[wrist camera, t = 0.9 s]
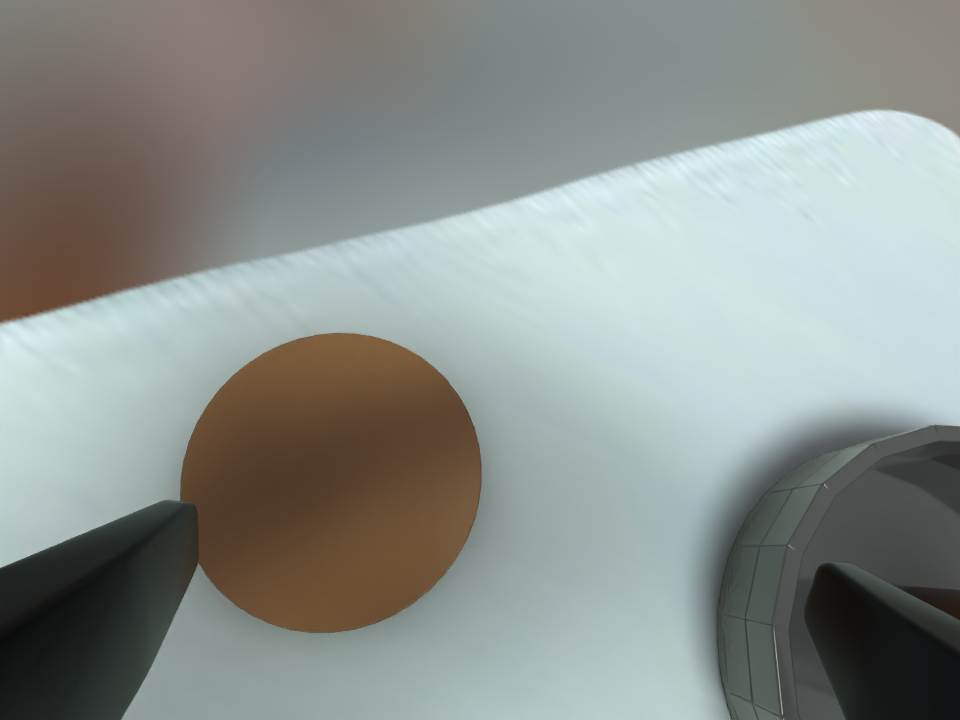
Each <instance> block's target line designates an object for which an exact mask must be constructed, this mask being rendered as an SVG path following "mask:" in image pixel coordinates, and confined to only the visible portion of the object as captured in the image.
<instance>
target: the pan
mask: <svg viewBox="0 0 960 720" xmlns="http://www.w3.org/2000/svg"><path fill="white" fill-rule="evenodd" d="M824 562H837V563H848V564H852V565H854V566H857V567H858V568H860V569H862V570H864V571H866V572H868V573H870V574H872V575H874V576H876V577H878V578H880V579H881V580H883V581H885V582H887V583H889V584H891V585H893V586H895V587H897V588H899V589H901V590H903V591H905V590H908V589H912V588H918V587H929V588H943V589H956V590H960V426H946V425H930V426H926V427H922V428H918V429H914V430H910V431H906V432H902V433H898V434H894V435H890V436H886V437H882V438H878V439H874V440H870V441H866V442H863V443H860V444H856V445H853V446H850V447H846V448H843V449H840V450H836V451H833V452H829V453H826V454H823V455H820V456H816V457H815V458H813V459H812V460H810V461H808V462H806V463H803V464H802V465H800V466H799V467H797V468H796V469H794V470H793V471H791V472H790V473H788V474H787V475H785V476H784V477H783V478H782V479H781V480H780V481H778V482H777V483H776V484H775V485H774V486H773V487H772V488H771V489H770V490H769V491H767V492H766V494H765V495H764V496H763V497H762V499H761V500H760V501H759V502H758V504H757V505H756V506H755V507H754V509H753V510H752V511H751V513H750V515H749V516H748V518H747V520H746V521H745V523H744V525H743V526H742V528H741V530H740V532H739V533H738V536H737V538H736V541H735V543H734V546H733V548H732V550H731V553H730V555H729V558H728V562H727V566H726V569H725V573H724V577H723V581H722V585H721V593H720V601H719V608H718V651H719V660H720V669H721V676H722V681H723V685H724V690H725V694H726V699H727V703H728V708H729V710H730V713H731V716H732V719H733V720H845V718H844V716H843V714H842V712H841V709H840V707H839V705H838V702H837V700H836V698H835V695H834V693H833V691H832V688H831V686H830V683H829V681H828V679H827V676H826V674H825V672H824V669H823V667H822V665H821V662H820V660H819V658H818V655H817V653H816V650H815V648H814V646H813V643H812V641H811V639H810V636H809V634H808V632H807V629H806V627H805V624H804V619H803V608H804V604H805V601H806V598H807V595H808V592H809V589H810V586H811V583H812V580H813V577H814V574H815V571H816V569H817V567H818V566H819V565H820V564H821V563H824Z"/></svg>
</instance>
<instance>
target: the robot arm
mask: <svg viewBox="0 0 960 720" xmlns="http://www.w3.org/2000/svg"><path fill="white" fill-rule="evenodd" d="M198 557H199V540H198V512H197V508H196V506H195V505H194V504H193V503H191V502H182V501H172V500H164V501H161V502H158V503H156V504H154V505H151V506H149V507H146V508H144V509H141V510H139V511H137V512H134V513H132V514H129V515H127V516H125V517H122V518H120V519H117V520H115V521H113V522H110V523H108V524H105V525H103V526H101V527H98V528H96V529H93V530H91V531H89V532H86V533H84V534H81V535H79V536H76V537H74V538H72V539H69V540H67V541H64V542H62V543H60V544H57V545H55V546H52V547H50V548H48V549H45V550H43V551H40V552H38V553H36V554H33V555H31V556H28V557H26V558H24V559H21V560H19V561H16V562H14V563H12V564H9V565H7V566H4V567H2V568H0V720H121V719H122V717H123V715H124V714H125V712H126V710H127V708H128V707H129V705H130V703H131V702H132V700H133V698H134V697H135V695H136V693H137V692H138V690H139V688H140V686H141V684H142V683H143V681H144V679H145V677H146V676H147V674H148V672H149V670H150V668H151V666H152V664H153V662H154V660H155V657H156V655H157V653H158V651H159V649H160V647H161V645H162V642H163V640H164V638H165V636H166V634H167V631H168V629H169V627H170V625H171V623H172V620H173V618H174V616H175V614H176V612H177V610H178V607H179V605H180V603H181V601H182V599H183V596H184V594H185V592H186V590H187V588H188V586H189V583H190V581H191V579H192V577H193V575H194V572H195V570H196V567H197V563H198ZM803 619H804V624H805V627H806V629H807V632H808V634H809V636H810V639H811V641H812V643H813V646H814V648H815V650H816V653H817V655H818V658H819V660H820V662H821V665H822V667H823V669H824V672H825V674H826V676H827V679H828V681H829V683H830V686H831V688H832V691H833V693H834V695H835V698H836V700H837V702H838V705H839V707H840V709H841V712H842V714H843V716H844V718H845V720H960V620H958V619H956V618H954V617H952V616H950V615H949V614H947V613H945V612H943V611H941V610H939V609H937V608H935V607H933V606H931V605H929V604H927V603H926V602H924V601H922V600H920V599H918V598H916V597H914V596H912V595H910V594H908V593H906V592H904V591H903V590H901V589H899V588H897V587H895V586H893V585H891V584H889V583H887V582H885V581H883V580H881V579H880V578H878V577H876V576H874V575H872V574H870V573H868V572H866V571H864V570H862V569H860V568H858V567H857V566H854V565H852V564H848V563H837V562H824V563H821V564H820V565H819V566H818V567H817V569H816V571H815V574H814V577H813V580H812V583H811V586H810V589H809V592H808V595H807V598H806V601H805V604H804V608H803Z"/></svg>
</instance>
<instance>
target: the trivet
mask: <svg viewBox="0 0 960 720" xmlns="http://www.w3.org/2000/svg"><path fill="white" fill-rule="evenodd" d="M480 490H481V457H480V449H479V443H478V440H477V436H476V432H475V428H474V425H473V423H472V421H471V418H470V416H469V413H468V411H467V409H466V407H465V406H464V404H463V402H462V400H461V399H460V397H459V395H458V394H457V392H456V391H455V390H454V389H453V387H452V386H451V385H450V383H449V382H448V381H447V380H446V379H445V378H444V377H443V376H442V375H441V374H440V373H439V372H438V371H437V370H436V369H435V368H434V367H433V366H432V365H430V364H429V363H428V362H426V361H425V360H424V359H423V358H421V357H420V356H418V355H416V354H415V353H413V352H411V351H409V350H408V349H406V348H404V347H401V346H399V345H397V344H394V343H392V342H390V341H386V340H383V339H379V338H376V337H372V336H366V335H359V334H347V333H332V334H322V335H314V336H310V337H305V338H301V339H297V340H294V341H291V342H288V343H286V344H283V345H280V346H278V347H276V348H274V349H272V350H270V351H268V352H266V353H264V354H262V355H260V356H259V357H257V358H256V359H254V360H253V361H251V362H249V363H248V364H247V365H245V366H244V367H243V368H242V369H240V370H239V371H238V372H237V373H236V374H234V375H233V376H232V377H231V378H230V379H229V380H228V381H227V382H226V383H225V384H224V385H223V386H222V387H221V388H220V389H219V391H218V392H217V393H216V395H215V396H214V397H213V398H212V400H211V401H210V402H209V404H208V405H207V407H206V408H205V410H204V412H203V413H202V415H201V417H200V419H199V420H198V422H197V424H196V426H195V429H194V431H193V433H192V436H191V438H190V440H189V443H188V447H187V450H186V454H185V457H184V461H183V468H182V475H181V490H180V501H182V502H191V503H193V504H194V505H195V506H196V508H197V512H198V540H199V557H198V563H199V564H200V566H201V568H202V569H203V571H204V572H205V574H206V576H207V577H208V578H209V579H210V580H211V582H212V583H213V584H214V585H215V586H216V588H217V589H218V590H219V591H220V592H221V593H222V594H223V595H224V596H226V597H227V598H228V599H229V600H230V601H231V602H232V603H234V604H235V605H236V606H238V607H239V608H241V609H242V610H244V611H245V612H247V613H249V614H250V615H252V616H254V617H256V618H258V619H260V620H263V621H265V622H267V623H269V624H272V625H275V626H279V627H282V628H286V629H289V630H294V631H302V632H310V633H334V632H341V631H348V630H354V629H358V628H361V627H365V626H368V625H371V624H375V623H377V622H379V621H382V620H384V619H386V618H388V617H391V616H393V615H395V614H397V613H398V612H400V611H402V610H403V609H405V608H406V607H408V606H410V605H411V604H413V603H414V602H415V601H417V600H418V599H419V598H420V597H422V596H423V595H424V594H425V593H427V592H428V591H429V590H430V589H431V588H432V587H433V586H434V585H435V584H436V583H437V582H438V581H439V580H440V579H441V578H442V577H443V575H444V574H445V573H446V572H447V570H448V569H449V567H450V566H451V565H452V563H453V562H454V561H455V559H456V558H457V556H458V554H459V553H460V551H461V549H462V547H463V545H464V544H465V542H466V540H467V538H468V535H469V533H470V530H471V528H472V525H473V523H474V519H475V516H476V512H477V508H478V504H479V498H480Z"/></svg>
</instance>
